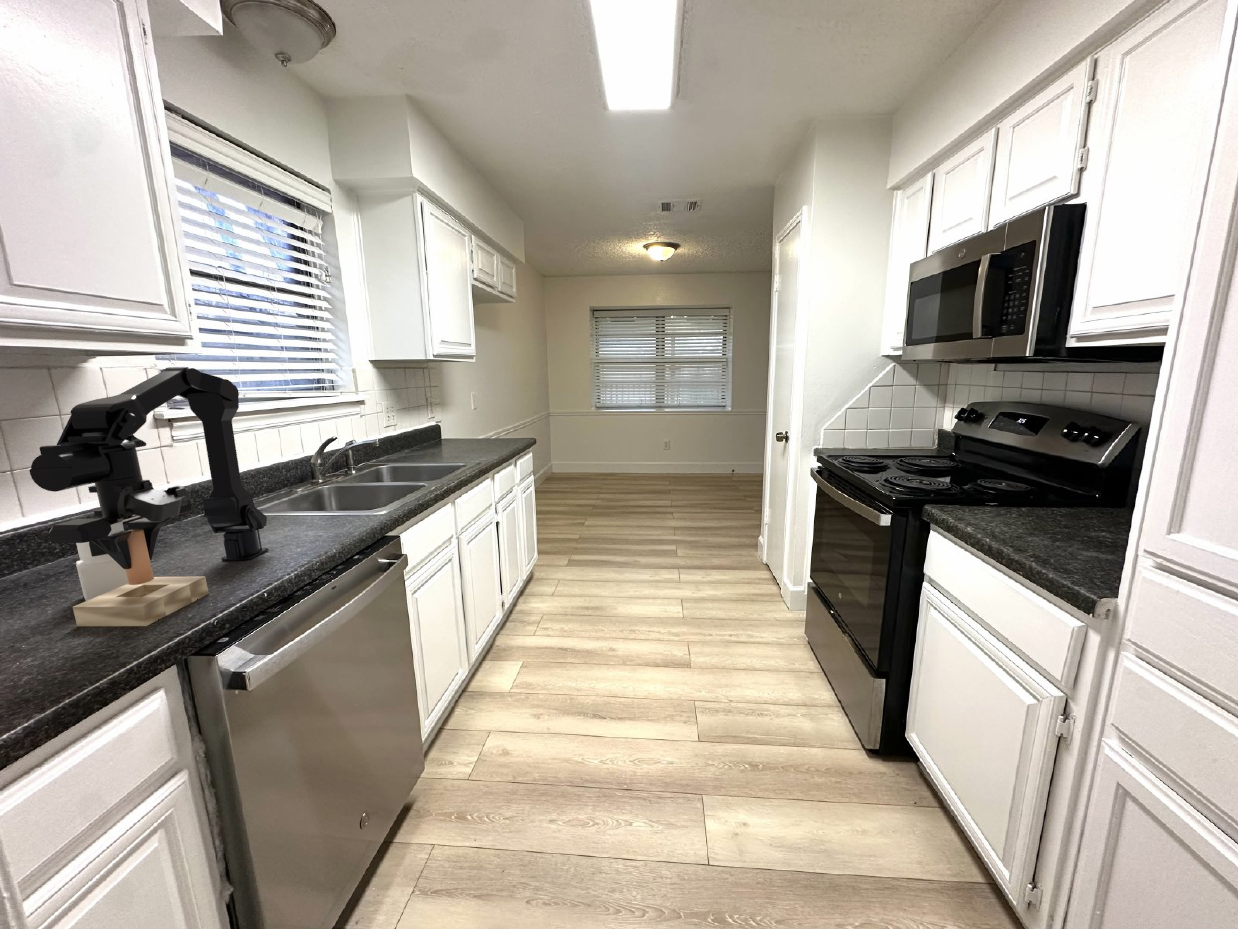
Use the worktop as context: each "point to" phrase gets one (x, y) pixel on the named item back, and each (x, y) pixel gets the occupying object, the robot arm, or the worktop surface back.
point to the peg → (139, 559)
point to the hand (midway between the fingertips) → (137, 564)
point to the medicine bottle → (98, 571)
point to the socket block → (140, 602)
